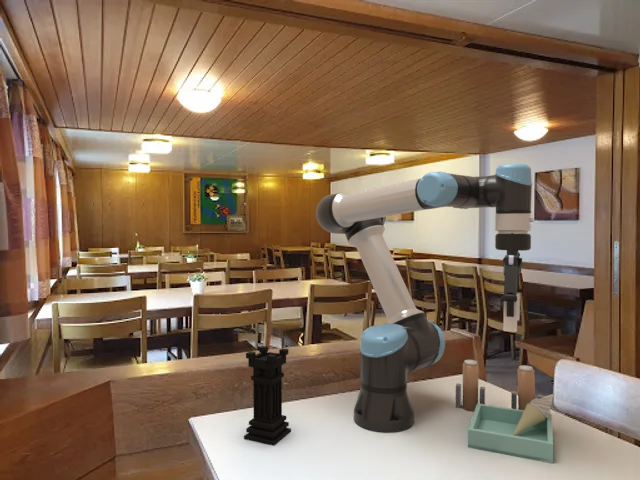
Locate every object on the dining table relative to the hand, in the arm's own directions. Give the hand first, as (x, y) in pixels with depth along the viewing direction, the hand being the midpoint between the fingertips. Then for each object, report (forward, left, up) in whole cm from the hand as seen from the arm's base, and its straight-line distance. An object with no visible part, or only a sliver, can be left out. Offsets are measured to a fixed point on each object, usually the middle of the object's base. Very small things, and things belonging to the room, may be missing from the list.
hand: (511, 325), depth 108 cm
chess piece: (-52, -22, -27) cm, 62 cm away
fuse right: (+3, +15, -26) cm, 30 cm away
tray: (0, 0, -26) cm, 26 cm away
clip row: (-4, +15, -26) cm, 31 cm away
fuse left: (-11, +15, -26) cm, 32 cm away
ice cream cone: (+1, 0, -26) cm, 26 cm away
